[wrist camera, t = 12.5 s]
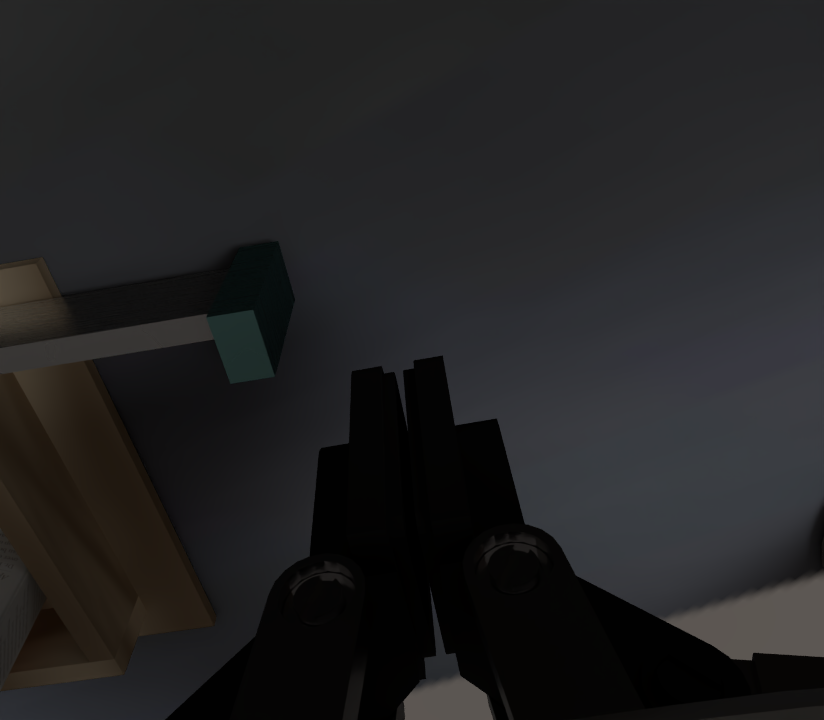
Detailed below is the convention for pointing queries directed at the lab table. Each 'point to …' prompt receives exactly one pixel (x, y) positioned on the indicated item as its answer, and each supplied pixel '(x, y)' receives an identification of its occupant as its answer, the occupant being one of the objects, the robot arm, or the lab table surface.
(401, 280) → the lab table surface
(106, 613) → the rest
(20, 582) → the skincare box
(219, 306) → the gate
